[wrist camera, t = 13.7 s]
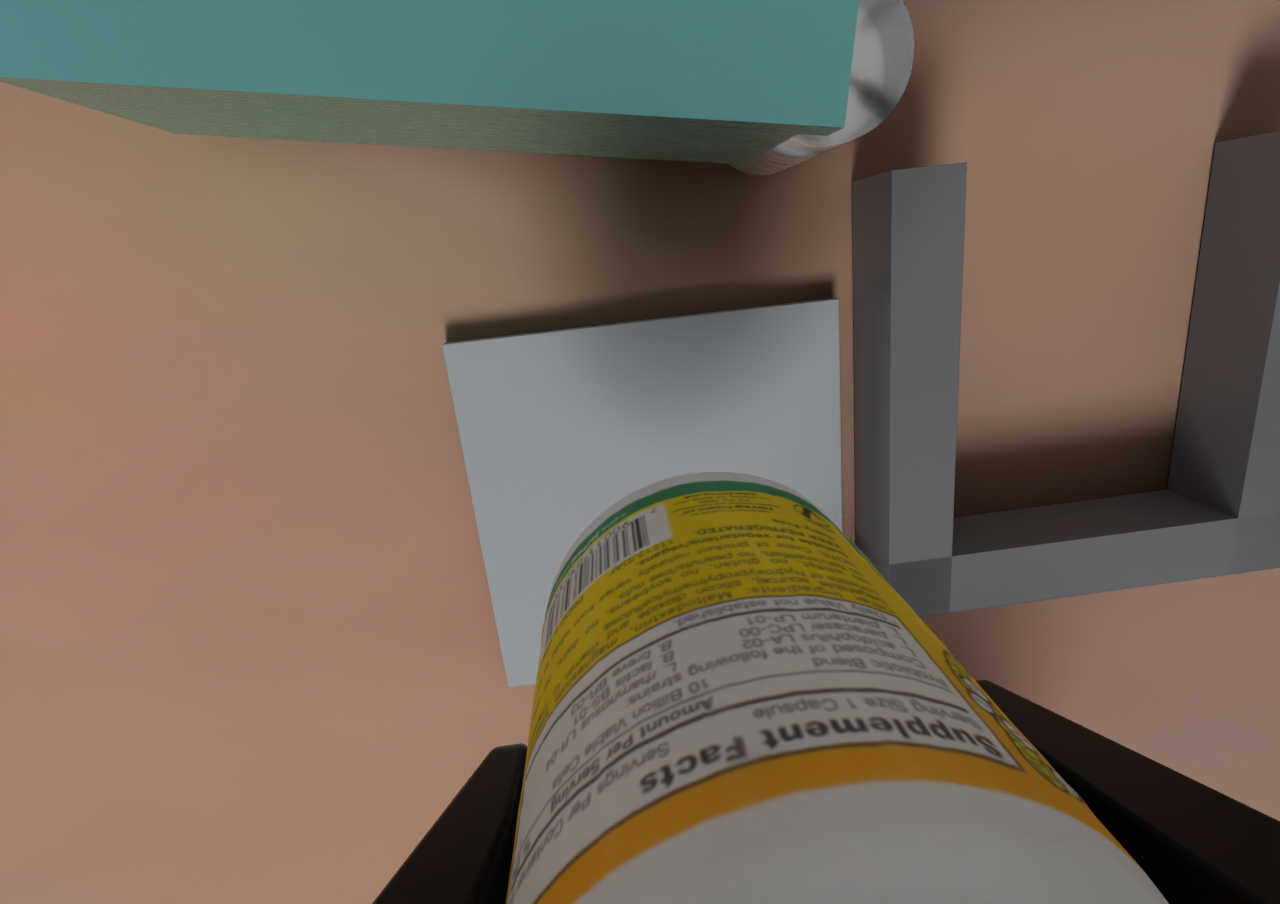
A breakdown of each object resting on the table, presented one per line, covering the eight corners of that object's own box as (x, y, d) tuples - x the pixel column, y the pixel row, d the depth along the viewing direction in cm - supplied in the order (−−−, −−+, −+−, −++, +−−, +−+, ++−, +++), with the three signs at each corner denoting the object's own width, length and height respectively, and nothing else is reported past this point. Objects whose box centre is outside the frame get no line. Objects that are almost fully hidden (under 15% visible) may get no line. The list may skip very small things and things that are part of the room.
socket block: (1277, 135, 15) (1378, 117, 13) (1212, 533, 18) (1286, 567, 16) (851, 181, 15) (891, 170, 13) (855, 581, 18) (888, 621, 16)
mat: (832, 298, 15) (838, 298, 15) (838, 632, 18) (844, 641, 18) (446, 342, 15) (442, 344, 15) (510, 678, 18) (508, 687, 17)
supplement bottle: (546, 460, 10) (107, 2241, 1) (880, 464, 11) (2701, 1815, 1) (548, 747, 12) (377, 2486, 3) (840, 742, 12) (1592, 2251, 3)
